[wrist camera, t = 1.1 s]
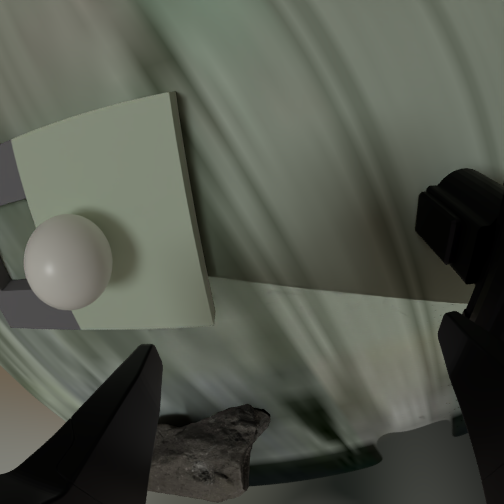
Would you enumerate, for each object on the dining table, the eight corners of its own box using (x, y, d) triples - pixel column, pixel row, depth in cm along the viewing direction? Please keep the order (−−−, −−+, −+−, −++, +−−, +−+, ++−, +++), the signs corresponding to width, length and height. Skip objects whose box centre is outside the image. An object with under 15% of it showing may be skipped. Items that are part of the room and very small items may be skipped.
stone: (197, 404, 21) (253, 518, 17) (262, 383, 28) (306, 473, 24) (100, 441, 29) (134, 517, 24) (157, 427, 36) (188, 494, 31)
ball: (111, 192, 16) (67, 236, 11) (134, 272, 18) (107, 330, 14) (41, 206, 16) (-8, 249, 11) (68, 277, 18) (32, 329, 14)
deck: (175, 91, 15) (168, 92, 13) (215, 310, 22) (213, 325, 20) (-43, 165, 15) (-56, 171, 14) (18, 316, 22) (10, 327, 21)
